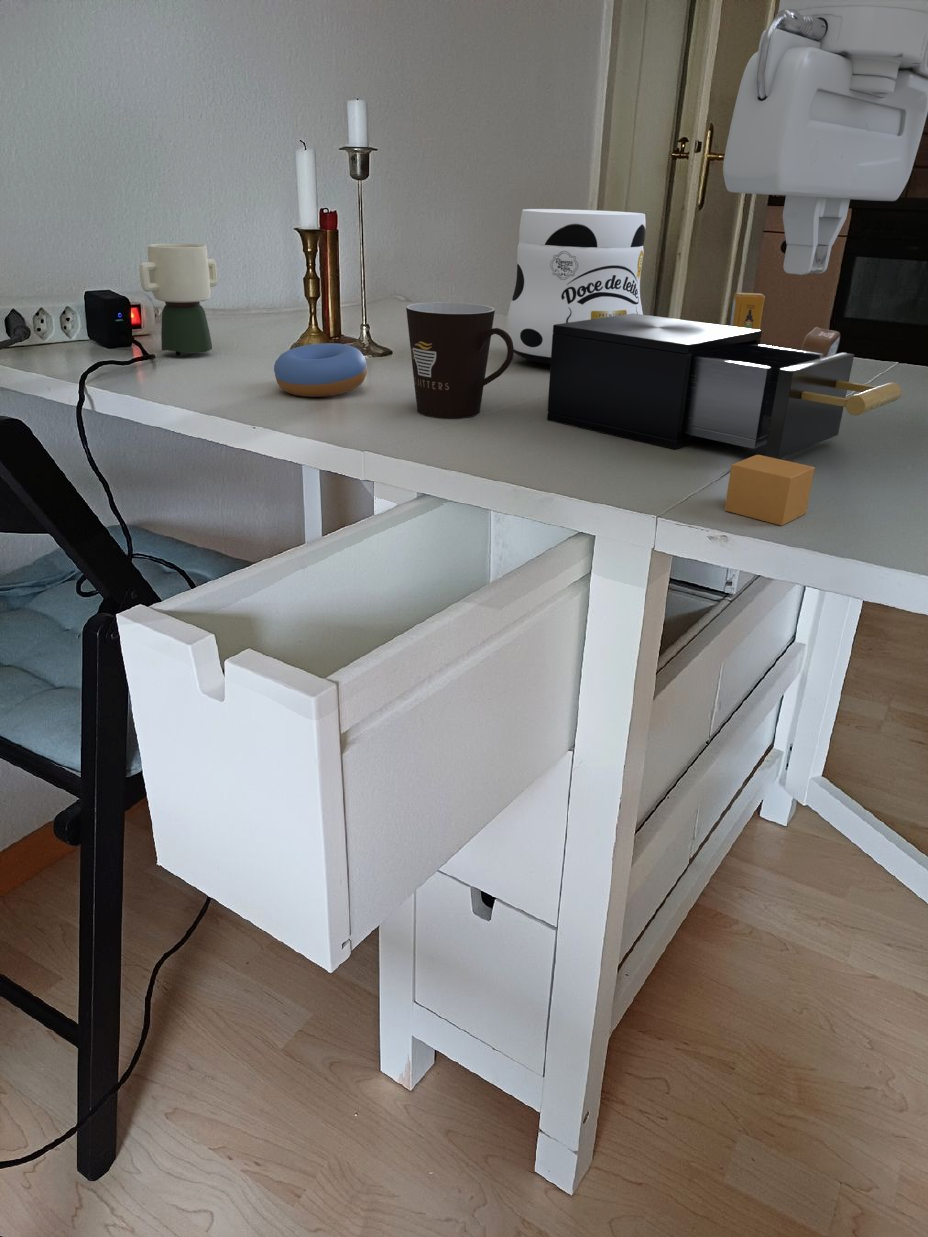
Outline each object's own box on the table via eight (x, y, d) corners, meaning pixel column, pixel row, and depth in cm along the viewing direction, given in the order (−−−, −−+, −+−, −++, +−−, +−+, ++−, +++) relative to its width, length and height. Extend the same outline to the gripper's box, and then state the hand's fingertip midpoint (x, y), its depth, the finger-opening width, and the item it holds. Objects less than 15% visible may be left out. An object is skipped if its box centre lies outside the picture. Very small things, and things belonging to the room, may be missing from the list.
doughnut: (285, 403, 95) (283, 357, 93) (267, 384, 104) (264, 341, 102) (378, 397, 99) (378, 353, 97) (353, 379, 107) (352, 338, 105)
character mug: (206, 346, 124) (197, 242, 119) (239, 353, 120) (231, 245, 115) (134, 355, 117) (120, 244, 111) (167, 363, 113) (154, 248, 107)
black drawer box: (747, 425, 92) (762, 330, 88) (675, 449, 83) (688, 344, 79) (623, 400, 101) (632, 313, 97) (546, 420, 92) (552, 324, 88)
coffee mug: (394, 404, 96) (394, 303, 92) (471, 399, 99) (474, 301, 95) (433, 431, 86) (435, 319, 82) (517, 425, 89) (523, 317, 85)
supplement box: (749, 377, 115) (763, 292, 111) (752, 382, 112) (766, 295, 107) (722, 375, 115) (734, 290, 111) (724, 380, 112) (736, 293, 108)
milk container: (608, 381, 110) (624, 216, 103) (481, 364, 118) (487, 209, 110) (657, 360, 124) (674, 213, 116) (540, 346, 132) (548, 207, 124)
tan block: (806, 513, 68) (815, 466, 66) (781, 526, 65) (790, 477, 63) (749, 499, 70) (757, 454, 69) (723, 510, 68) (731, 464, 66)
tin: (800, 399, 104) (814, 321, 100) (829, 402, 103) (845, 323, 99) (778, 427, 92) (794, 339, 88) (811, 431, 90) (828, 342, 87)
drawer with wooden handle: (897, 446, 82) (917, 362, 79) (840, 474, 74) (860, 381, 71) (707, 409, 94) (718, 335, 91) (639, 429, 85) (648, 348, 82)
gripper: (828, -4, 47) (776, 284, 53) (959, 49, 61) (906, 273, 67) (717, 6, 51) (680, 273, 57) (864, 54, 65) (822, 265, 71)
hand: (804, 273), depth 62 cm, fingers closed
